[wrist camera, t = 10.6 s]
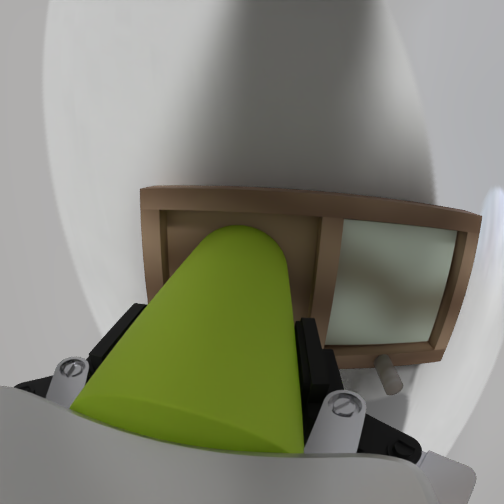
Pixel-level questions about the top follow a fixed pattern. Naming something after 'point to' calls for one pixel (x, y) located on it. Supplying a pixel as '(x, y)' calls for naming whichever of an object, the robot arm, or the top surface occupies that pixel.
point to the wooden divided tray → (335, 263)
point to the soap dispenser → (210, 354)
